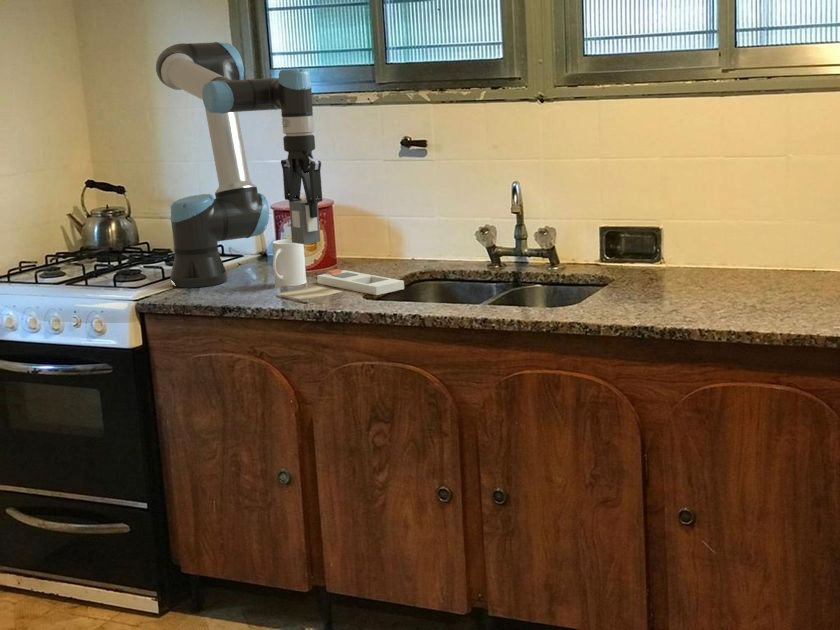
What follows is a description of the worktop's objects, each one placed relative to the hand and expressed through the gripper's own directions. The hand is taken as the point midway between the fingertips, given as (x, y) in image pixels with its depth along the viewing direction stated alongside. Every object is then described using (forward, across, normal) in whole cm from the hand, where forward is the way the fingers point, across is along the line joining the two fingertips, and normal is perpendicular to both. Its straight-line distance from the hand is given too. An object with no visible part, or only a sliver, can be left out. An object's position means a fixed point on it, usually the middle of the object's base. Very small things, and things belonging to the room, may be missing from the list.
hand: (305, 229), depth 255 cm
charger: (+3, 0, 0) cm, 3 cm away
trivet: (+17, 0, 0) cm, 17 cm away
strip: (+17, +1, +13) cm, 21 cm away
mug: (+17, -14, +3) cm, 22 cm away
